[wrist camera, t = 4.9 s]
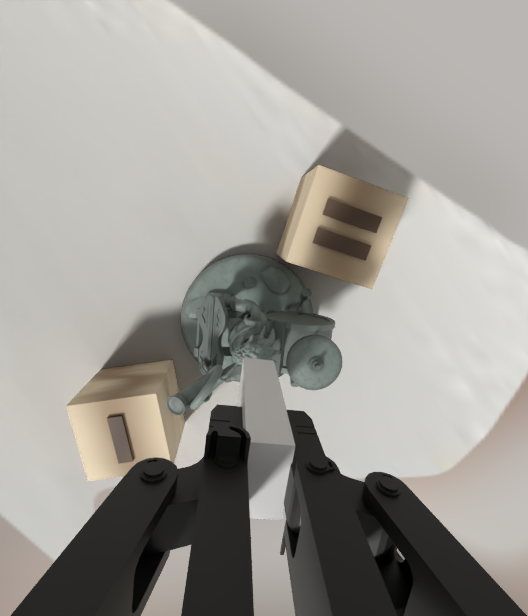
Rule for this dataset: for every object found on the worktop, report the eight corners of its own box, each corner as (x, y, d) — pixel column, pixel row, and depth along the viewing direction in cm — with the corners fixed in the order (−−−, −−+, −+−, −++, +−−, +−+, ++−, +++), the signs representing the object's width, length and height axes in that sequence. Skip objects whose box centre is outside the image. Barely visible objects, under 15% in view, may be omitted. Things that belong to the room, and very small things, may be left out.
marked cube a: (117, 431, 30) (86, 483, 24) (101, 369, 29) (64, 407, 23) (185, 421, 30) (171, 470, 24) (172, 359, 29) (155, 395, 23)
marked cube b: (276, 253, 27) (286, 261, 21) (300, 177, 26) (319, 164, 20) (344, 275, 28) (373, 289, 22) (371, 203, 27) (410, 198, 21)
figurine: (185, 248, 27) (144, 267, 15) (319, 259, 28) (378, 286, 16) (180, 373, 29) (141, 472, 18) (304, 380, 30) (344, 478, 19)
